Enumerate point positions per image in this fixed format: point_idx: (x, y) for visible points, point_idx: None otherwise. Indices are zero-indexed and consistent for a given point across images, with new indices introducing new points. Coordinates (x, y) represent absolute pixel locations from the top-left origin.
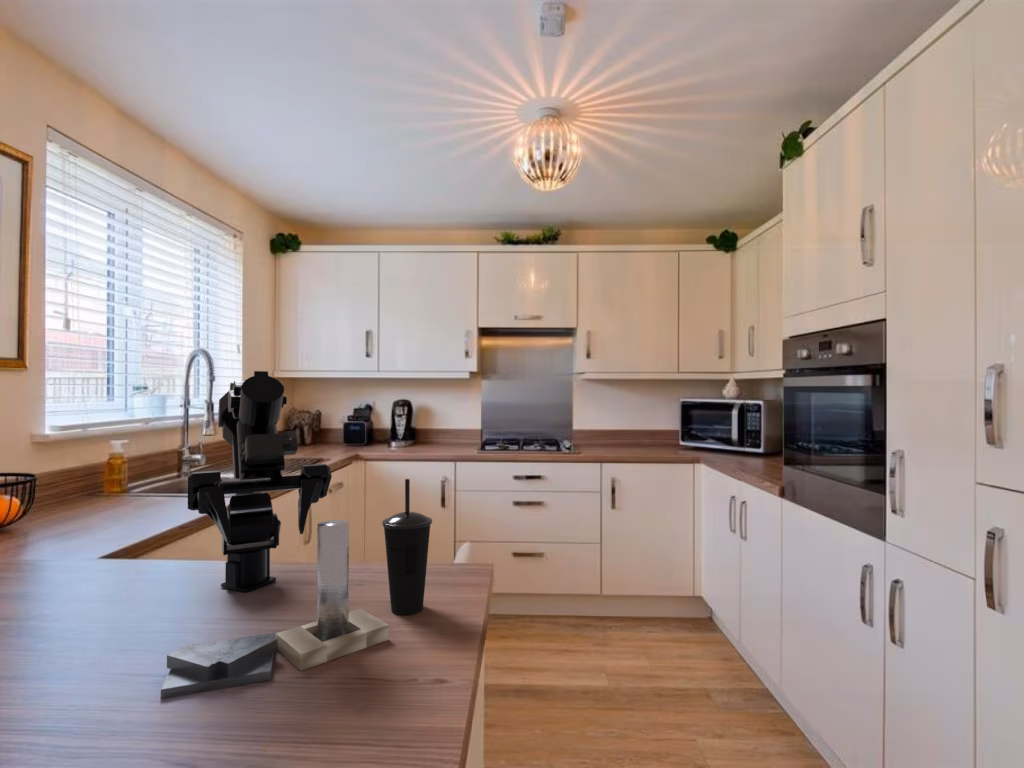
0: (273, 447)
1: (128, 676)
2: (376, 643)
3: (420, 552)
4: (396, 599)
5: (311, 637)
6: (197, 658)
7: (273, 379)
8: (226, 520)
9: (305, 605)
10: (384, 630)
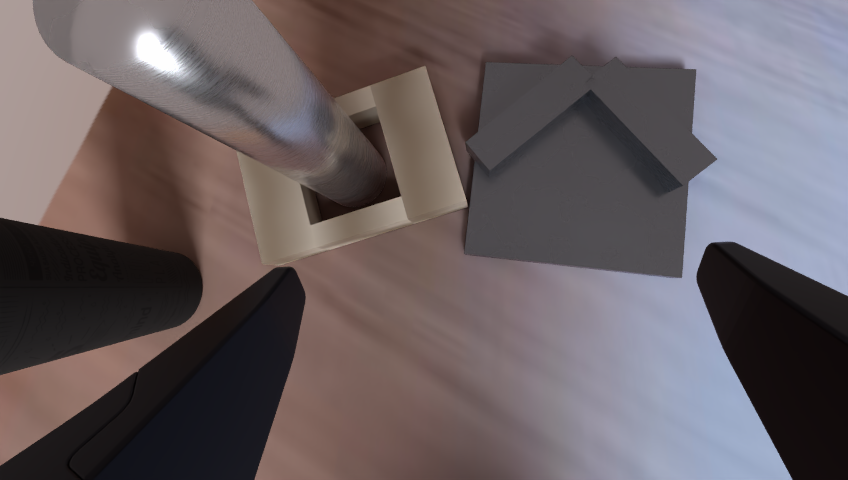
0: None
1: (777, 212)
2: None
3: None
4: (171, 264)
5: (393, 139)
6: (641, 108)
7: None
8: (844, 321)
9: (375, 453)
10: None
